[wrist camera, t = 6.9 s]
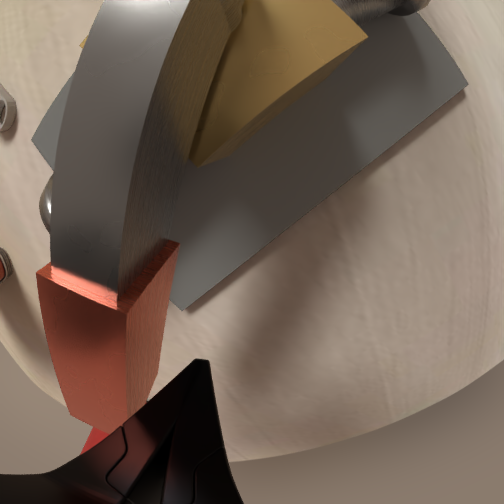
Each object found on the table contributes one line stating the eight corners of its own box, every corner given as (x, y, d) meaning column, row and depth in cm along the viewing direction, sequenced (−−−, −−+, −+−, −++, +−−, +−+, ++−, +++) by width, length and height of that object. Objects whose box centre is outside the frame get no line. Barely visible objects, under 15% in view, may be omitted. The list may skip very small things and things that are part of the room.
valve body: (335, -42, 8) (363, -105, 2) (409, 27, 9) (475, -13, 3) (77, 171, 13) (-5, 197, 7) (141, 243, 15) (77, 304, 9)
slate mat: (292, -79, 6) (293, -84, 6) (462, 85, 10) (468, 84, 9) (37, 139, 13) (31, 139, 12) (184, 305, 16) (182, 311, 16)
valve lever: (189, -24, 4) (149, -90, 1) (266, -15, 5) (263, -94, 1) (108, 352, 9) (70, 414, 6) (157, 372, 10) (130, 442, 6)
